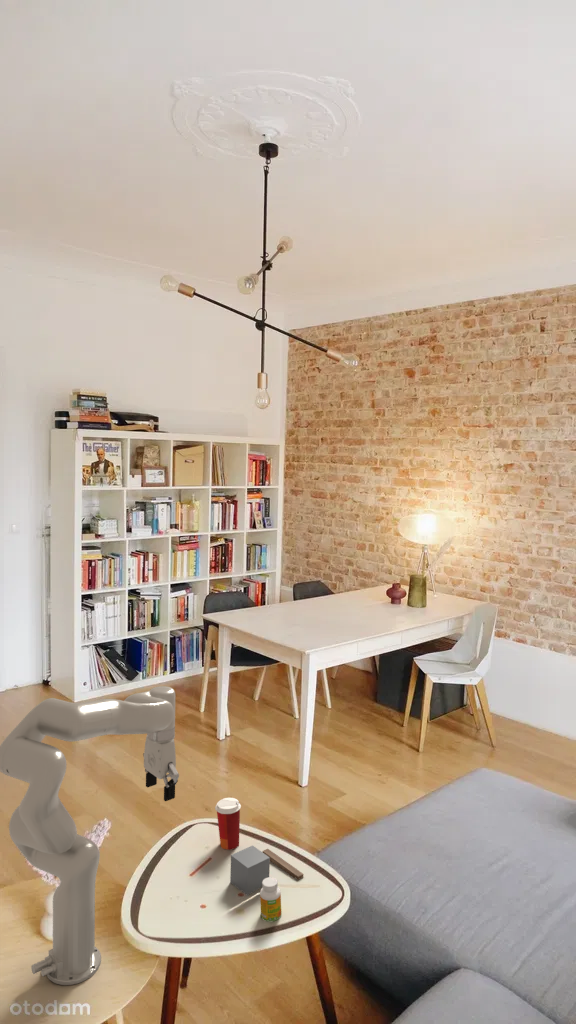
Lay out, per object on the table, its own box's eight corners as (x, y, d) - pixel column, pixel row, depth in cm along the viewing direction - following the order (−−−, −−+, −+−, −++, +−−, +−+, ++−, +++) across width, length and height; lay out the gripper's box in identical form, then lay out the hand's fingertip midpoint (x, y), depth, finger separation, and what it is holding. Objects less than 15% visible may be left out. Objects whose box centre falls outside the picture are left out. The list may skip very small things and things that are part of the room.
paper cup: (244, 839, 212) (242, 796, 211) (240, 854, 205) (238, 810, 203) (219, 839, 213) (217, 796, 212) (214, 853, 206) (212, 809, 204)
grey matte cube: (247, 899, 185) (247, 868, 184) (230, 885, 190) (230, 855, 190) (268, 887, 190) (269, 857, 189) (251, 874, 195) (252, 845, 195)
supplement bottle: (267, 927, 174) (266, 891, 173) (257, 915, 178) (255, 880, 177) (285, 918, 177) (284, 883, 176) (274, 907, 181) (273, 872, 180)
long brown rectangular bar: (297, 885, 191) (298, 876, 191) (262, 858, 203) (262, 850, 203) (303, 882, 193) (303, 873, 192) (267, 856, 205) (267, 848, 204)
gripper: (133, 725, 191) (132, 784, 192) (165, 746, 178) (164, 809, 179) (157, 719, 196) (156, 777, 197) (189, 739, 183) (188, 800, 184)
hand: (160, 792), depth 188 cm, fingers open, 9 cm apart
